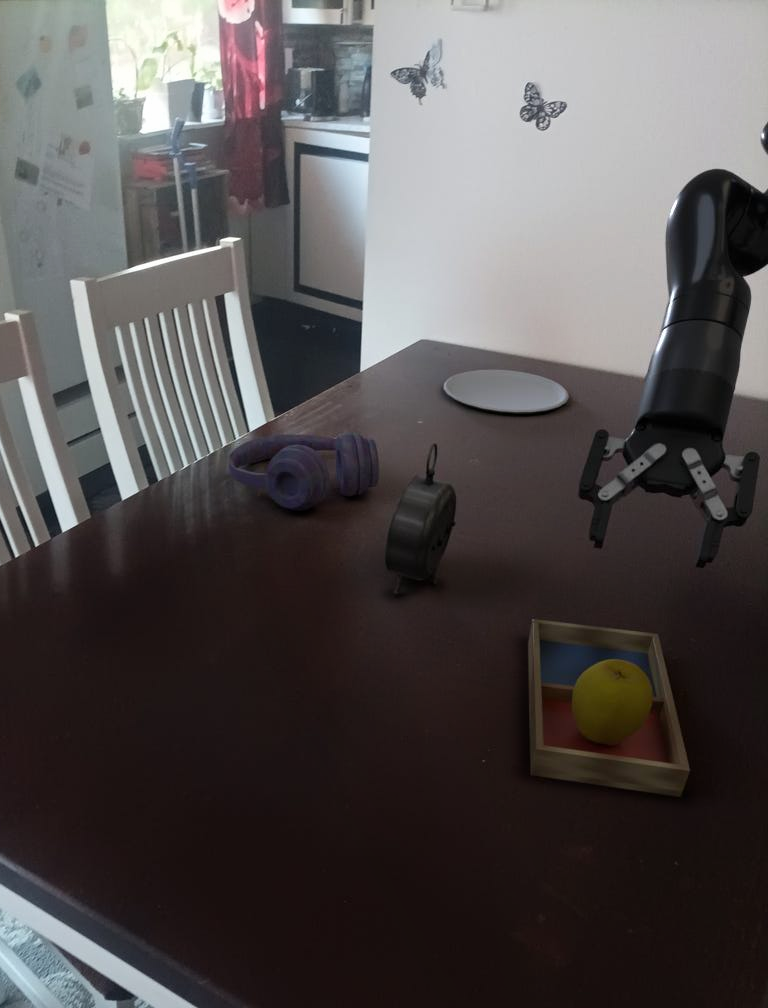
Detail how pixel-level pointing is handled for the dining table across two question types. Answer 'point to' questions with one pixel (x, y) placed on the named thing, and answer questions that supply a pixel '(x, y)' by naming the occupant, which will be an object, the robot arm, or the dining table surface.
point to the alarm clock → (420, 527)
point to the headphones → (306, 467)
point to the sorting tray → (553, 731)
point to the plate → (506, 391)
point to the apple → (611, 701)
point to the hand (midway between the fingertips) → (648, 555)
